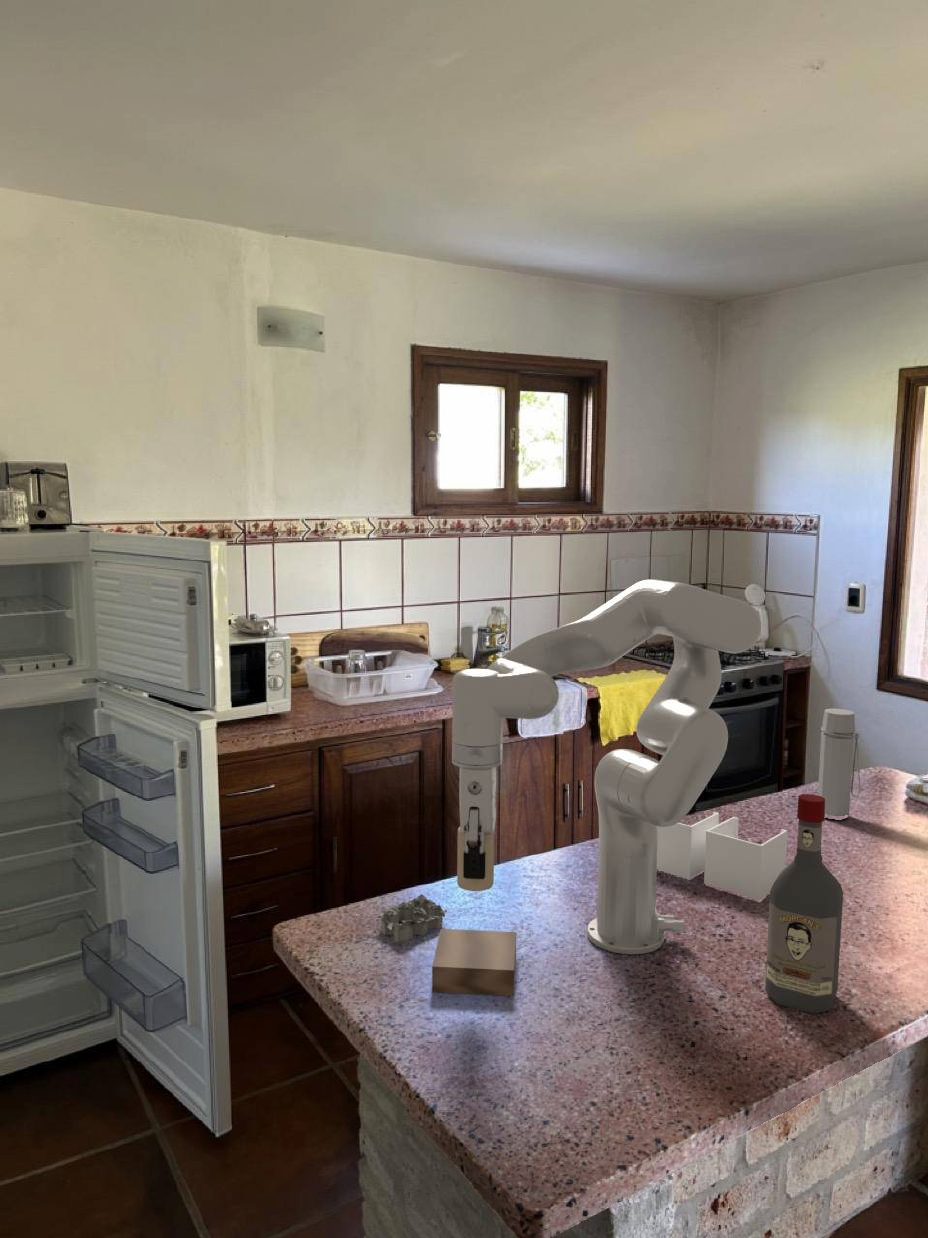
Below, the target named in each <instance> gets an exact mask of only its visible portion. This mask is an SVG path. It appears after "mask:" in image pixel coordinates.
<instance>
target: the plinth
mask: <svg viewBox="0 0 928 1238" xmlns="http://www.w3.org/2000/svg"><path fill="white" fill-rule="evenodd" d="M516 956H517V931H502V930H501V931H499V930H497V931H496V930H478V929H477V930H476V929H475V930H474V929H457V928H456V929H455V928H454V929H452V928H440V932H439V935H438V940H437V945H436V950H435V953H434V956H433V957H434V958H433V961H432V966H431V972H432V973H431V983H432V984H431V990H432V991H431V992H432V993H437V994H438V993H439V994H440V993H442V994H460V995H461V994H463V995H483V996H502V997H504V996H505V997H515V979H516V975H515V974H516V960H517V957H516Z"/></svg>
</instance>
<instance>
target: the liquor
mask: <svg viewBox="0 0 928 1238" xmlns="http://www.w3.org/2000/svg"><path fill="white" fill-rule="evenodd" d="M796 811H797V813H796V815H797V816H796V817H797V819H798V827H797V828H798V829H797V842H796V853H795V856H794V857H793V859H794V860H792V862H791V863H789V864H788V865H786V868H785V869H784V870H783V871H782V872H780V874H779V876H778V877H777V879H776V881H775V882H774V884H773V886H772V888H771V891H770V896H769V902H768V903H769V906H768V925H767V926H768V927H767V929H768V930H767V942H766V943H767V946H766V966H765V967H766V968H765V988H764V989H765V991H766V994H767V996H768V997H769V998H770V999H772V1001H774V1002H775V1003H776V1005H778V1004H780V1005H779V1006H782V1005H784V1006H783V1007H785V1008H786V1007H787V1008H789V1007H790V1009H793V1008H794V1010H796V1009H797V1010H798V1011H800V1010H801V1011H800V1012H804V1011H805V1012H804V1013H807V1012H809V1014H811V1013H813V1014H812V1015H815V1014H814V1013H817V1014H820V1013H819V1012H824V1011H829V1012H830V1010H831V1009H832V1007H833V1004H834V1001H835V998H836V996H837V993H838V989H839V988H838V987H839V986H838V985H839V974H840V973H839V971H840V953H841V938H842V937H841V936H842V919H843V902H844V901H843V900H844V891H843V888H842V885H841V883H840V882H839V881H838V879H837V878H836V877H835V876H834V874H833V873H832V872H831V871H830V870H829V869H828V868H827V866H826V865H825V864H824V863H823V856H822V838H823V837H822V834H823V833H822V831H823V822H825V818H824V817H825V798H823V797H821V796H818V794H812V793H803V794H802V793H801V794H799V795H798V797H797V809H796ZM824 1013H825V1012H824Z"/></svg>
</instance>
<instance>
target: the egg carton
mask: <svg viewBox="0 0 928 1238" xmlns="http://www.w3.org/2000/svg"><path fill="white" fill-rule="evenodd" d="M446 913H448V910H447V909H443V908H442V907H441V905H440V904H436V902H435V901H433V900H432V899H428V898H427V897H426V896H425V895H424V894H420V895H418V896H417V897H415V898H414V899H412V900H408V901H407V902H405V901H403V902H401V903H400V904H397V905H394V906H392V907H391V908H390V907H389V908H388V907H387V908H383V909H381V910H380V911H379V913H378V914H377V916H376V918H377V919H378V920H381V924H380V930H381V931H380V932H381V934H382V935H384V936H387V935H393V938H394V939H393V940H394V941H395V942H396V943H397V942H398V943H400V942H411V941H413V937H414V936H417V935H419V936H420V935H421V936H424V935H426V934H428V930H430V929H436V928H437V930H439V929H442V928H443V925H442V924H443V917H444V918H445V916H446ZM399 922H401V923H399ZM441 923H442V924H441ZM438 928H439V929H438Z"/></svg>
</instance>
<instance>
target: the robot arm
mask: <svg viewBox="0 0 928 1238" xmlns="http://www.w3.org/2000/svg"><path fill="white" fill-rule="evenodd" d="M761 621H762V620H761V618H760V615H759V613H758V612H757V610H756V609H755V608H754V607H753V605H751V603H748V602H747V601H744V600H742V599H738V598H735V597H731V596H728V595H725V594H721V593H718V592H714V591H710V590H708V589H704V588H701V587H699V586H695V585H692V584H689V583H683V582H677V581H670V580H661V579H644V580H641V581H640V580H639V581H638V582H636V583H634V584H632V585H631V586H629V587H628V588H626V589H625V590H623V591H621V592H620V593H618V594H617V595H615V596H614V597H612V598H610V600H608V601H607V602H605V603H603V604H602V605H600V606H599V607H597V608H596V609H594V610H592V611H591V612H590V613H588V614H586V615H584V617H581V618H580V619H578V620H575V621H573V622H570V623H567V624H564V625H562V626H559V627H555V628H553V629H551V630H549V631H546V632H543V633H541V634H538V635H536V636H533V637H530V638H529V639H527V640H525V641H523V642H520V643H519V644H518V645H516V646H515V647H513V648H511V649H510V650H509V651H507V652H505V653H504V654H502V655H500V656H499V657H498V658H497V659H496V660H494V661H493V662H492V663H491V664H490V665H489V666H488V667H487V668H469V669H467V668H466V669H462V670H459V671H458V672H456V673H455V675H454V677H453V678H452V679H453V680H452V716H451V717H452V728H451V731H452V736H451V763H452V765H454V766H456V767H459V823H460V825H459V827H461V831H462V832H463V833H464V834H465V851H464V860H463V877H464V878H466V879H484V878H485V855H486V852H484V835H485V833H489V835H491V834H492V833H493V832H494V833H495V827H496V819H497V770H496V769H497V768H498V767H500V766H501V765H502V764H503V748H504V747H503V740H504V739H503V735H504V734H503V733H504V719H519V720H520V719H521V720H537V719H540V718H543V717H546V716H548V715H549V714H550V713H552V711H554V709H556V706H557V705H558V702H559V698H560V692H559V687H558V684H557V683H556V681H555V679H554V678H553V677H555V676H557V675H560V674H564V673H568V672H576V671H577V672H578V671H589V670H595V669H600V668H605V667H608V666H610V665H612V664H614V663H616V662H617V661H619V660H620V659H621V658H622V657H623V656H625V655H626V654H628V653H629V652H631V651H633V650H634V649H636V648H637V647H638V646H640V645H641V644H643V643H644V642H646V641H648V640H649V639H651V638H652V637H653V636H655V635H663V636H669V637H672V640H673V650H674V651H673V652H674V654H673V655H674V656H673V661H672V665H671V667H670V669H669V671H668V673H667V674H666V676H665V678H664V680H663V681H662V683H661V684H660V686H659V687H658V689H657V690H656V692H655V693H654V694H653V696H652V698H651V700H649V702H648V703H647V705H646V707H645V708H644V710H643V711H642V713H641V715H640V716H639V718H638V721H637V724H636V729H635V730H636V732H635V733H636V736H637V738H638V741H639V742H640V744H642V745H643V746H644V747H645V748H647V749H648V750H650V751H652V752H654V753H656V754H659V755H661V759H660V760H659V759H656V758H654V757H652V756H649V755H647V754H644V753H641V752H639V751H636V750H634V749H633V750H632V749H626V748H620V749H614V750H612V751H610V752H607V753H606V754H605V755H603V756H602V758H601V759H600V760H599V762H598V765H597V766H596V768H595V772H594V792H595V798H596V803H597V811H598V832H599V833H598V854H597V855H598V864H597V895H596V896H597V897H596V899H597V900H596V906H597V907H596V917H595V918H593V919H592V920H591V921H590V922H589V923H588V925H587V929H586V930H587V932H586V934H587V938H588V939H589V941H590V942H591V943H593V944H594V945H595V946H597V947H598V948H600V949H602V950H606V951H608V952H612V953H616V954H619V955H620V954H622V955H643V954H648V953H651V952H654V951H656V950H658V949H660V947H662V946H663V945H664V941H665V932H668V933H669V932H672V933H685V921H684V920H683V919H682V920H681V919H680V920H679V919H675V916H674V914H660V912H658V911H657V908H656V905H657V904H656V902H657V901H656V899H657V872H658V871H657V850H658V834H657V826H659V827H668V826H672V825H674V824H676V823H680V821H682V820H683V819H684V818H685V817H686V815H687V814H688V813H689V812H690V810H691V809H692V808H693V806H694V805H695V804H696V802H697V800H698V798H699V797H700V795H701V794H702V793H703V791H704V790H705V788H706V787H707V785H708V783H709V782H710V780H711V778H712V777H713V776H714V774H715V772H716V771H717V769H718V767H720V764H721V762H722V760H723V758H724V757H725V755H726V751H727V748H728V742H729V733H728V732H729V730H728V727H727V724H726V722H725V719H723V718H722V716H721V715H720V714H719V713H717V712H716V711H714V710H712V709H710V706H711V705H712V703H713V701H714V700H715V698H716V695H717V694H718V692H719V690H720V687H721V683H722V667H721V666H722V665H721V659H720V654H719V652H722V653H723V652H724V653H728V654H741V653H743V652H747V651H748V650H749V649H751V648H752V647H753V646H754V645H755V644H756V643H757V642H758V640H759V638H760V635H761V633H762V632H761V631H762V622H761ZM478 828H482V832H478ZM468 829H469V831H468ZM484 832H485V833H484ZM478 836H480V840H478Z"/></svg>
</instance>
